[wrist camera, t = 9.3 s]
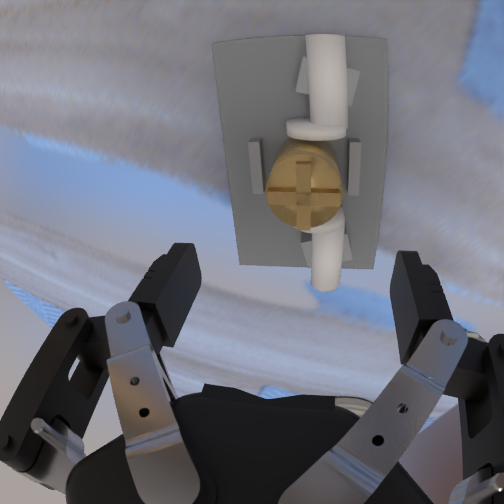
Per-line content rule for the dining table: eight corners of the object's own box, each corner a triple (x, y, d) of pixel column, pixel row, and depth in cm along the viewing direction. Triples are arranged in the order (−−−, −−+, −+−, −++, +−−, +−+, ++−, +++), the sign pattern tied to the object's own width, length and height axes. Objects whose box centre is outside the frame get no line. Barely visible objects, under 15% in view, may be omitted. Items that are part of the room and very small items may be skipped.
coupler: (275, 132, 22) (261, 160, 16) (337, 133, 21) (345, 162, 16) (278, 188, 24) (266, 232, 19) (336, 189, 23) (341, 234, 18)
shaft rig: (215, 43, 19) (191, 40, 15) (383, 39, 17) (402, 35, 13) (242, 258, 30) (229, 294, 26) (371, 262, 28) (378, 301, 23)
